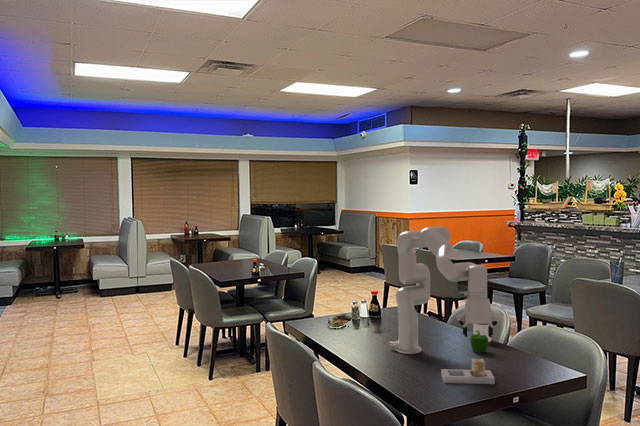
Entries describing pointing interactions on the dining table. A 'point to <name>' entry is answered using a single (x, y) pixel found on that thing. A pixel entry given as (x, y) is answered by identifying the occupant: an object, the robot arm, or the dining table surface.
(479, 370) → the beech block
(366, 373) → the dining table surface
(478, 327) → the jar
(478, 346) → the bell pepper
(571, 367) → the dining table surface
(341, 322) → the plated dish
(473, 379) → the rail
